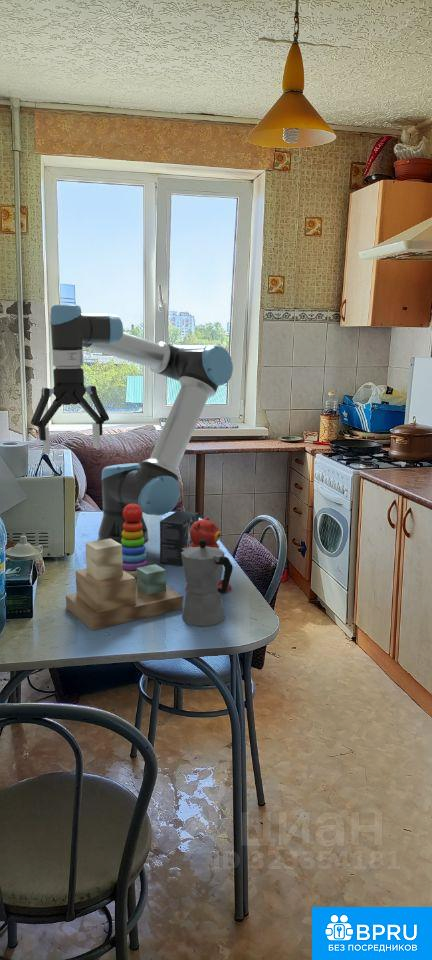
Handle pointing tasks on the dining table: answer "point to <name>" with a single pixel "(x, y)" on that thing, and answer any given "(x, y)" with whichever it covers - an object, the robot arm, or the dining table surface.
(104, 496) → the robot arm
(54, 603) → the dining table surface
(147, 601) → the base
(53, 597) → the dining table surface
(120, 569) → the oak block
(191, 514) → the small box
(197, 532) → the stacking bear
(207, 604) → the coffeepot
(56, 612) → the dining table surface
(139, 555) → the stacking toy
